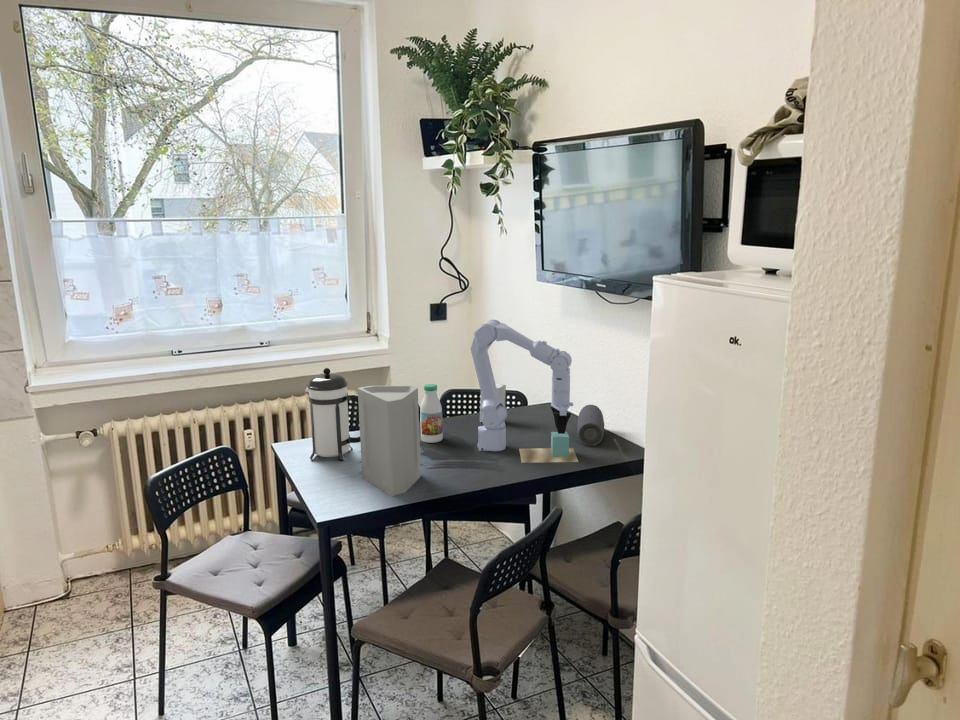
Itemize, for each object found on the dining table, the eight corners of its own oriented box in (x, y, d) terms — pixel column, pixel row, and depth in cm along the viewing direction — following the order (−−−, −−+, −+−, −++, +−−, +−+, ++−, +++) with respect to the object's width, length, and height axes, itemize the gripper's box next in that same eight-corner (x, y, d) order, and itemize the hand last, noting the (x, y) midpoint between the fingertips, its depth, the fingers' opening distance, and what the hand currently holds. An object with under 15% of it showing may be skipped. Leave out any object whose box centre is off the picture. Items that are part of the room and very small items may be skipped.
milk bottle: (416, 439, 249) (414, 385, 245) (433, 434, 254) (432, 381, 250) (429, 444, 243) (428, 389, 239) (447, 439, 248) (446, 385, 244)
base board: (521, 467, 222) (521, 462, 221) (519, 452, 234) (519, 448, 234) (578, 466, 222) (578, 461, 221) (572, 452, 234) (573, 448, 234)
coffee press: (319, 468, 223) (314, 376, 216) (302, 454, 236) (296, 366, 229) (370, 457, 232) (365, 368, 226) (350, 444, 245) (346, 360, 239)
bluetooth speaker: (604, 450, 236) (605, 422, 234) (576, 449, 237) (577, 421, 235) (603, 429, 258) (604, 403, 256) (577, 428, 259) (578, 402, 257)
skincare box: (479, 422, 267) (479, 384, 264) (486, 418, 273) (486, 381, 269) (499, 425, 264) (499, 387, 260) (506, 421, 269) (506, 383, 266)
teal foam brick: (552, 456, 226) (552, 437, 225) (551, 451, 231) (551, 432, 230) (568, 456, 226) (569, 437, 225) (566, 451, 231) (567, 431, 230)
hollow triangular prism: (435, 483, 209) (433, 393, 203) (391, 496, 201) (387, 401, 195) (403, 465, 224) (400, 380, 218) (361, 476, 216) (356, 388, 210)
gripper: (576, 395, 217) (575, 437, 220) (570, 384, 231) (569, 423, 234) (553, 396, 217) (553, 438, 220) (549, 384, 231) (548, 423, 234)
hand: (560, 430), depth 227 cm, fingers open, 5 cm apart
